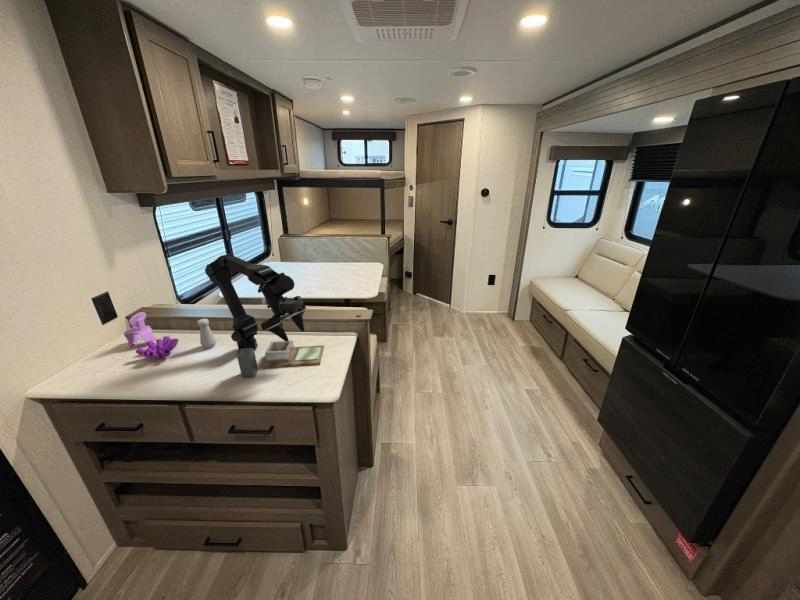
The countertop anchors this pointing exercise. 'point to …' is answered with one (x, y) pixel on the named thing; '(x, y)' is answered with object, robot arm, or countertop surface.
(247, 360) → the steel key
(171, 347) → the purple coral
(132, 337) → the toy chair
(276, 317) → the robot arm
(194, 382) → the countertop surface
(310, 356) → the stand board
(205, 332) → the salt shaker
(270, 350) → the socket
